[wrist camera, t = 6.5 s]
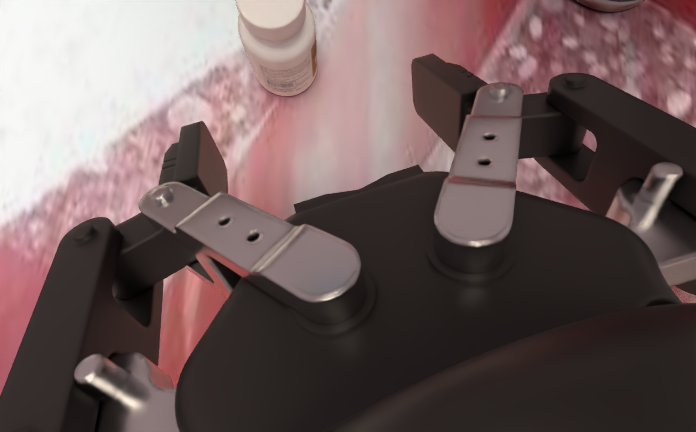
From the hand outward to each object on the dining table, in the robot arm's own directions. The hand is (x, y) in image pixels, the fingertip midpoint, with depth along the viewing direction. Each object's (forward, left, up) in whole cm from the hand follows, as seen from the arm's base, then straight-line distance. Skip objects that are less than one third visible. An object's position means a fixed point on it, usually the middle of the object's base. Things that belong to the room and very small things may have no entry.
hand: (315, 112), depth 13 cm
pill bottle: (+2, -7, -12) cm, 14 cm away
